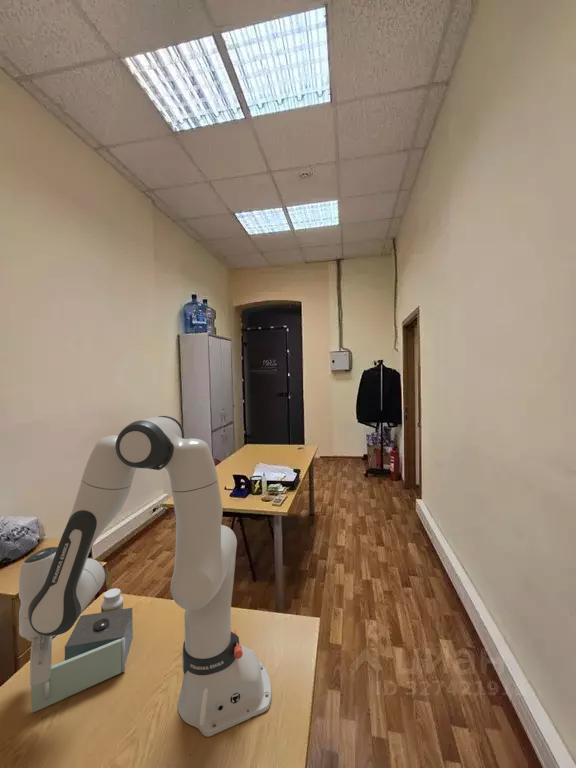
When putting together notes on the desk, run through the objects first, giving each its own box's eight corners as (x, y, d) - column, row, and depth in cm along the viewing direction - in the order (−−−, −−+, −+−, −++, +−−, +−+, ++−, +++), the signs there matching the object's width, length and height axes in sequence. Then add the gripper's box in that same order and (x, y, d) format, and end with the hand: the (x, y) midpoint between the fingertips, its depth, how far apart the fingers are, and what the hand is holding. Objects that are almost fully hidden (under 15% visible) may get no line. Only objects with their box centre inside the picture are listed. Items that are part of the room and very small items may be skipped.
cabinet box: (132, 637, 103) (132, 605, 102) (123, 669, 91) (123, 634, 91) (81, 646, 99) (80, 613, 99) (65, 681, 88) (64, 644, 87)
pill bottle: (96, 630, 105) (96, 595, 105) (115, 618, 111) (114, 584, 111) (109, 637, 103) (109, 601, 102) (127, 624, 108) (127, 590, 108)
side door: (124, 668, 91) (124, 636, 91) (126, 673, 89) (125, 641, 89) (31, 709, 79) (31, 674, 79) (31, 716, 78) (30, 680, 78)
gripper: (57, 639, 75) (58, 701, 75) (58, 591, 92) (58, 642, 92) (21, 652, 71) (22, 717, 72) (29, 600, 88) (29, 652, 89)
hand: (42, 674), depth 82 cm, fingers closed
